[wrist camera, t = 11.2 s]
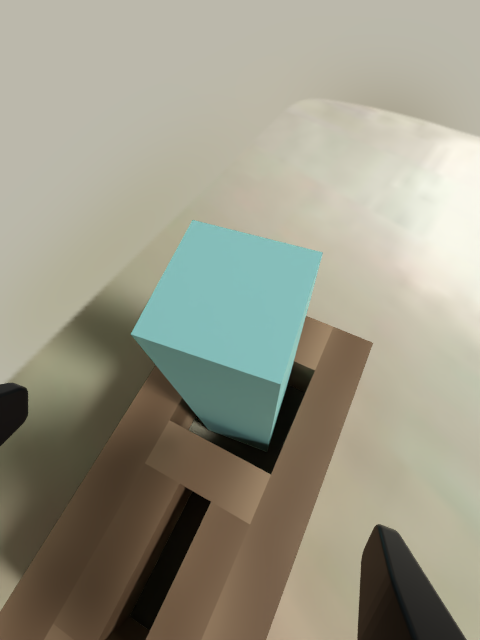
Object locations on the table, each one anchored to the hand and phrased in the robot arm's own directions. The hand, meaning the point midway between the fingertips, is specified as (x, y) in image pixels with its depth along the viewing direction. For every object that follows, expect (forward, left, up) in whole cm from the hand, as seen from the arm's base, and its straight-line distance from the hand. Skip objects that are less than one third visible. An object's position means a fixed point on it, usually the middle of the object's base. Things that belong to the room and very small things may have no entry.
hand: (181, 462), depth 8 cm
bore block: (0, 0, -11) cm, 11 cm away
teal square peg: (+2, +3, -11) cm, 12 cm away
